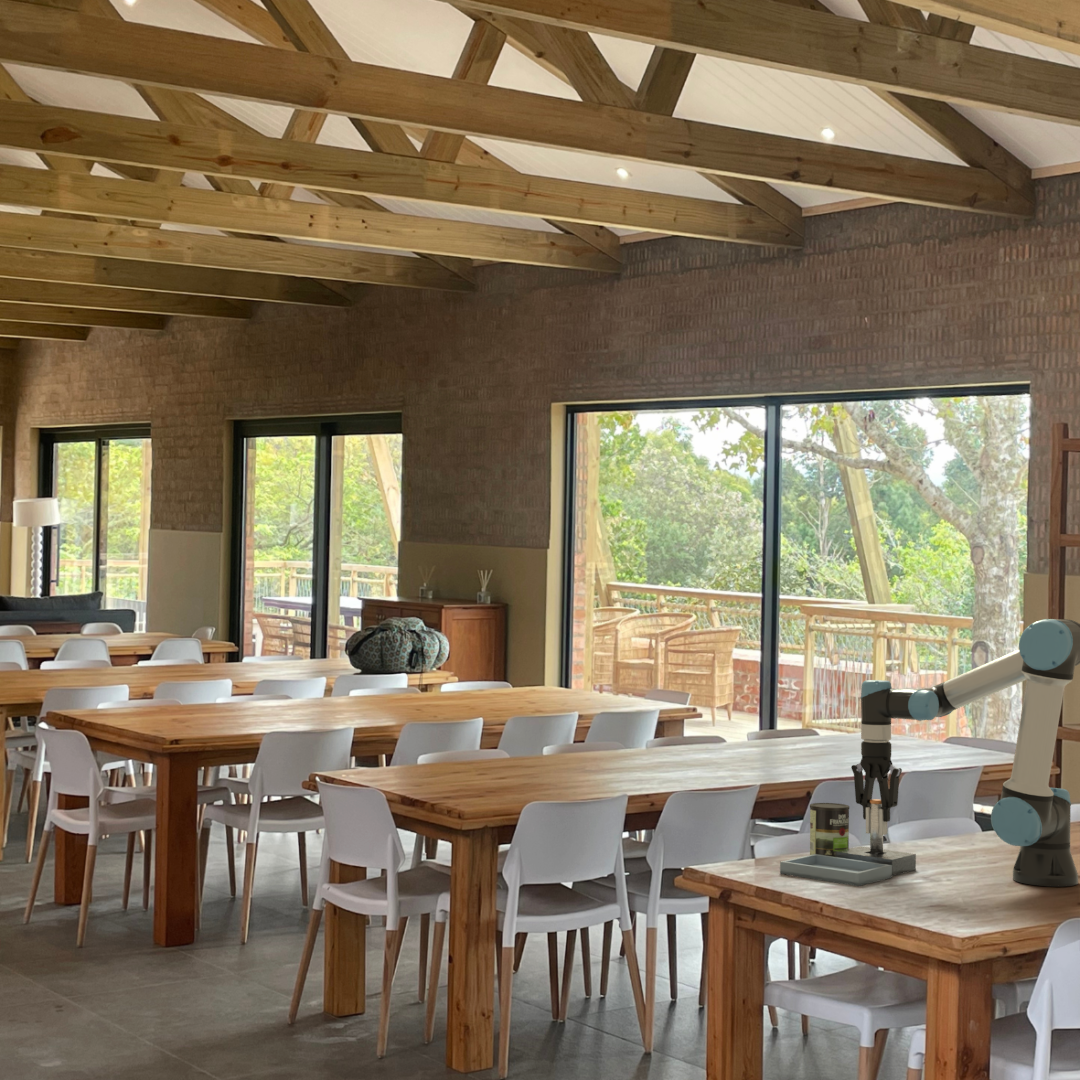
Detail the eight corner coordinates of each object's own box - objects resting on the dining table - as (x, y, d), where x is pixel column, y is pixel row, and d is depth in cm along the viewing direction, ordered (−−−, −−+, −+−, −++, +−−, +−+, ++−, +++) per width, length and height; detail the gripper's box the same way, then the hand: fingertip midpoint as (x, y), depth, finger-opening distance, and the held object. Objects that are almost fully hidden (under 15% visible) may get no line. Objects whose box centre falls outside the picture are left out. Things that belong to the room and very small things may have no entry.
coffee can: (857, 860, 390) (857, 806, 391) (827, 863, 385) (827, 808, 386) (830, 854, 399) (831, 801, 400) (801, 857, 394) (801, 803, 394)
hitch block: (915, 869, 377) (915, 853, 378) (892, 875, 369) (892, 859, 369) (859, 861, 388) (860, 846, 388) (835, 867, 379) (835, 851, 379)
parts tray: (891, 877, 366) (891, 865, 367) (858, 886, 355) (858, 873, 355) (814, 865, 381) (814, 854, 381) (780, 873, 369) (780, 861, 369)
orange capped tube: (885, 855, 378) (885, 800, 379) (879, 857, 376) (878, 801, 377) (874, 854, 381) (874, 799, 381) (867, 855, 378) (867, 800, 379)
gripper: (912, 742, 377) (912, 835, 376) (855, 738, 388) (856, 828, 387) (897, 743, 371) (898, 838, 370) (840, 739, 382) (840, 831, 381)
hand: (876, 833), depth 379 cm, fingers closed on orange capped tube, 3 cm apart
